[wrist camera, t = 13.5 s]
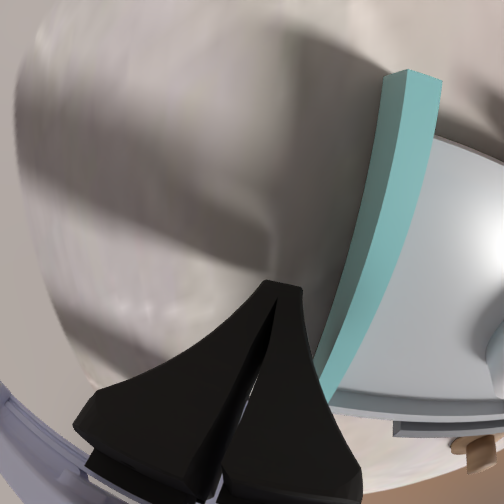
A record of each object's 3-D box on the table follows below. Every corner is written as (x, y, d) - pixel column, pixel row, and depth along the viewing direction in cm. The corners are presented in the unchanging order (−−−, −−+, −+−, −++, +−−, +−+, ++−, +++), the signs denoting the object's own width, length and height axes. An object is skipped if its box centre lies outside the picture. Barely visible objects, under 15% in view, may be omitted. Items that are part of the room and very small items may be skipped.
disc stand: (439, 451, 18) (439, 482, 15) (477, 423, 14) (480, 459, 12) (481, 447, 16) (483, 475, 14) (518, 418, 13) (523, 450, 10)
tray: (301, 389, 16) (290, 436, 13) (383, 76, 7) (407, 68, 4) (492, 406, 13) (497, 442, 10) (617, 207, 4) (650, 238, 1)
